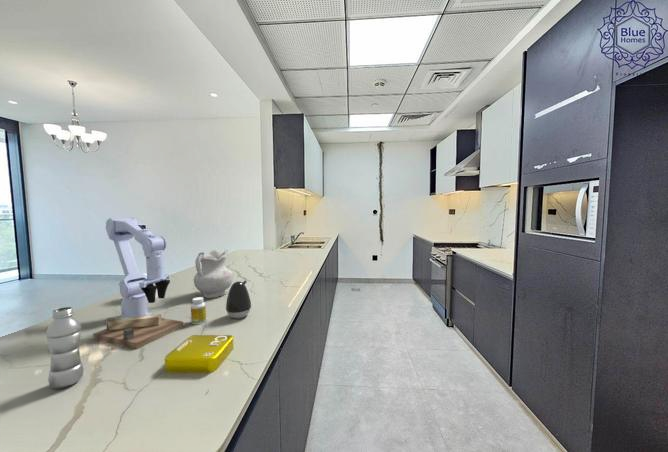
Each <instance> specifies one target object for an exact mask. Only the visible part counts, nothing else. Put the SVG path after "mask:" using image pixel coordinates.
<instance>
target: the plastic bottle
mask: <svg viewBox="0 0 668 452" xmlns="http://www.w3.org/2000/svg"><path fill="white" fill-rule="evenodd" d="M73 315H74V310H73V307H72V306H64V307H60V308H55V309H54V310H52V320H53V321H52V322H51V323H50V324H49V325H48V328H47V330H46V331H45V336H46V340H47V344H48V347H49V353H50V354H49V355H50V363H49V365H50V366H49V372H48V377H47V380H48V381H47V382H48V384H49V386H50V387H51V388H53V389H62V388H67V387H69V386H72V385H75V384H76V383H78V382H79V381H80V380H81V379H82V377H83V375H84V370H85V368H84V365H83V362H82V359H81V358H82V357H81V352H80V339H81V332H82V324H81V322H80V321H79V320H78V319H77V318H75V317H74V316H73Z"/></svg>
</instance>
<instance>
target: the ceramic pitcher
mask: <svg viewBox="0 0 668 452" xmlns="http://www.w3.org/2000/svg"><path fill="white" fill-rule="evenodd" d="M228 250H229V249H224V251H221V250H217V249H213V250H211V251H210V252H209V253H208V254H205V252H202V251H201V252H199V253H198V254H197V256H196V258H195V261H194V262H195V269H196V274H194V278H193V284H194V286H195V288H196V289H197V291H199V292H201V293H203V294H202V297H203V298H204V297H205V299H207V298H208V299H214V298H219V296H220V297H223V296H224V295H226V294H227V293H226V292H225V291H227V290H228V289H230V288H231V286H232V284H233V280H234V274H233V272H232V271H231V270H230V269H229V268H227V267H226V264H225V263H226V262H225V261H226V258H227V256H228V253H229V252H228Z"/></svg>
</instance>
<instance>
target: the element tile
mask: <svg viewBox="0 0 668 452" xmlns="http://www.w3.org/2000/svg"><path fill="white" fill-rule="evenodd" d="M233 350H234V336H233V335H230V334H229V335H228V334H193V335H191V336H189V337H187V338H186V339H185V340H184V341H182V342H181V343H180V344H179V345H177V346H176V347H175V348H174V349H173V350H171V351H170V352H169V353H168V354H167V355H166V356H164V371H165V373H169V372H170V373H174V374H176V373H177V374H178V373H179V374H182V373H184V374H188V373H189V374H190V373H191V374H208V373H209V374H210V373H213V372H216V371H217V370H218V369H219V368H220V367H221V366H222V364H223V363H224V362H225V360H226V359H227V358H228V357H229V355H230V354H231V353H232V351H233Z"/></svg>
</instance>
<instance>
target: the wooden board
mask: <svg viewBox="0 0 668 452" xmlns="http://www.w3.org/2000/svg"><path fill="white" fill-rule="evenodd" d="M142 316H147V315H142ZM161 320H162V322H161V323H160V324H159V325H153V326H144V327H134V328H125V329H116V330H107V328H104V329H102V330H100V331H97V332H94V333H92V337H93V338H92V339H93V340H95V341H100V342H105V343H109V344H113V345H117V344H118V345H117V346H121V345H123V347H127V348H130V349H131V348H132V349H134V350H138V349H140V348H142V347H143V346H146V345H149V344H150V343H152V342H154V341H156V340H159V339H161V338H163V337H165V336H167V335H170V334H171V333H173V332H176V331H177V330H180V329H182V328H183V327H185V326H184V321H182V320H175V319H169V318H163V317H161Z"/></svg>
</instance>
